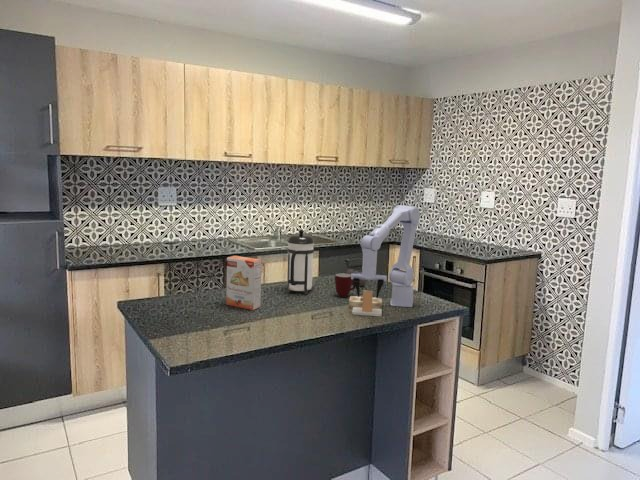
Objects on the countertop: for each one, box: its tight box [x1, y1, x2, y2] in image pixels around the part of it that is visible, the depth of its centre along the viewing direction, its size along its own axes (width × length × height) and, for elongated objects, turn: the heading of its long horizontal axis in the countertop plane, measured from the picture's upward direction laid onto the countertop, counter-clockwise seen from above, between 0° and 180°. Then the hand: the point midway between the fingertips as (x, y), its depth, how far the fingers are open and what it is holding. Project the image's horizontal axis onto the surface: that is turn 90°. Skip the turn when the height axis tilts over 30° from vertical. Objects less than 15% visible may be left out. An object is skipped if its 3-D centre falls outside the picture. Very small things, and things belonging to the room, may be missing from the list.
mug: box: [334, 272, 356, 298], centre depth 222 cm, size 11×8×10 cm
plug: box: [362, 289, 374, 312], centre depth 197 cm, size 4×4×8 cm
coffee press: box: [284, 229, 315, 296], centre depth 224 cm, size 17×16×30 cm
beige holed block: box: [348, 295, 383, 309], centre depth 207 cm, size 14×9×3 cm, turn 83°
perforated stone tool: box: [345, 268, 366, 287], centre depth 245 cm, size 15×5×7 cm, turn 28°
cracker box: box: [226, 255, 262, 311], centre depth 199 cm, size 14×6×21 cm, turn 62°
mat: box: [351, 307, 383, 317], centre depth 198 cm, size 12×7×1 cm, turn 83°
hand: (367, 296), depth 197 cm, fingers open, 7 cm apart
